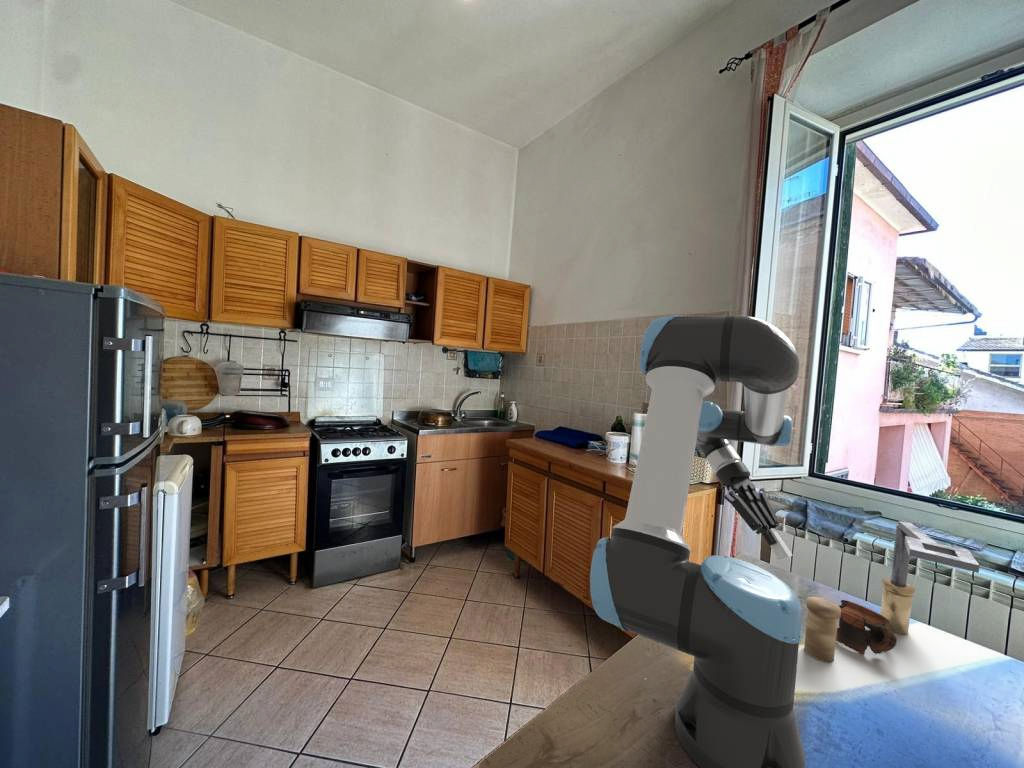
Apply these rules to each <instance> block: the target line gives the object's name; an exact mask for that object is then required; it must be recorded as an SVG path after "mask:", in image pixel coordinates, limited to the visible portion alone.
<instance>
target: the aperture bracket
mask: <svg viewBox="0 0 1024 768" xmlns="http://www.w3.org/2000/svg"><path fill="white" fill-rule="evenodd" d="M895 527H896V528H895V534H894V535H895V536H894V545H893V554H892V564H891V571H890V572H891V575H890V578H888V577H884V578H882V579H881V588H882V594H881V595H882V596H881V604H880V605H881V608H880V613H879V614H880V615H882V616H884V617H885V618H886V619H888V620H889V622H890V623H889V624H888V628H889V629H890V630H892V631H893V632H895V633H894V634H897V635H904V636H905V635H909V628H910V621H911V620H910V619H911V610H912V601H913V597H915V594H916V593H915V592H916V588H915V587H914V586H912V585H911V584H909V583H908V576H909V575H908V574H909V564H910V557H913V558H916V559H921V560H925V561H929V562H932V563H935V564H936V563H937V564H941V565H945V566H948V567H954V568H957V569H961V570H966V571H970V572H974V573H978V574H979V572H980V564H979V562H977V560H976V559H975V557H974V556H973V554H972V553H971V552H970V550H969V549H964V548H960V547H955V546H950V545H946V544H942V543H937V541H935V540H934V539H932V538H931V537H930V536H928V535H927V534H926V533H925V532H923V531H922V530H921V529H920V528H918V527H917V526H916V525H915V524H913V523H912V522H907V521H901V520H898V524H897V525H896V526H895Z"/></svg>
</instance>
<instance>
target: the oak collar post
mask: <svg viewBox="0 0 1024 768" xmlns="http://www.w3.org/2000/svg"><path fill="white" fill-rule="evenodd" d="M839 606H840V605H837V604H836V603H835V602H833V601H831V600H828V599H826V598H822V597H819V596H809V597H807V598H806V606H805V607H806V608H807V615H806V626H805V638H804V647H803V649H804V652H805V653H806V654H807V655H808V656H811V657H812V658H814V659H816V660H818V661H821V662H824V663H832V662H833V661H835V652H836V651H835V650H836V642H837V641H836V634H837V628H838V625H839V618H840V616H841V608H840V607H839Z"/></svg>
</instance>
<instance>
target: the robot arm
mask: <svg viewBox="0 0 1024 768" xmlns="http://www.w3.org/2000/svg"><path fill="white" fill-rule="evenodd" d="M640 345H641V346H640V354H639V368H640V369H639V370H640V372H641V374H642V375H643V376H645V382H646V384H647V385H648V386H649V387H650V389H651V394H650V397H649V398H650V399H649V403H648V408H647V413H646V418H645V421H644V427H643V431H642V437H641V441H640V447H639V451H638V456H637V460H636V465H635V470H634V474H633V480H632V485H631V489H630V494H629V499H628V503H627V509H626V513H625V518H624V519H623V520H622V521H620V522H618V523H617V524H615V525H613V527H612V531H611V535H610V537H609V536H606V537H602V538H600V539H599V540H598V542H597V543H596V548H595V549H594V551H593V555H592V558H591V559H592V560H591V564H590V575H589V582H590V583H589V584H590V585H589V587H590V588H589V590H590V597H591V603H592V606H593V609H594V611H595V613H596V615H597V616H598V617H599V618H600V619H601V620H603V621H604V622H607V623H609V624H612V625H614V626H616V627H618V628H620V630H622V631H625V632H630V633H633V634H635V635H638V636H640V637H643V638H646V639H648V640H651V641H654V642H656V643H658V644H660V645H663V646H666V647H668V648H672V649H673V650H676V651H680V652H682V653H685V654H687V655H688V656H689V655H690V656H691V657H694V660H693V668H692V672H691V673H690V675H689V677H688V679H687V681H686V683H685V685H684V687H683V689H682V690H681V693H680V695H679V697H678V699H677V701H676V705H675V716H674V727H675V732H676V733H675V734H676V736H677V739H678V741H679V743H680V745H681V746H682V748H683V750H684V751H685V753H686V754H687V755H688V757H689V758H690V759H691V760H692V762H693V763H694V764H695V765H696V766H697V767H698V768H806V756H805V752H804V748H803V743H802V740H801V735H800V730H799V729H798V724H797V719H796V716H795V712H794V703H795V695H796V694H795V692H796V682H797V671H798V670H797V669H798V658H799V646H800V645H799V644H800V643H801V641H802V639H803V630H802V605H801V601H800V599H799V598H798V596H797V595H796V593H795V592H794V590H793V589H792V588H791V587H790V586H789V585H788V584H787V583H785V582H784V581H783V580H781V579H780V578H779V577H777V576H776V575H775V574H773V573H772V572H769V571H768V570H766V569H764V568H762V567H760V566H758V565H756V564H753V563H751V562H748V561H745V560H742V559H739V558H737V557H733V556H727V555H725V556H721V555H718V554H717V555H710V556H707V557H705V558H704V559H703V560H702V562H701V564H699V563H694V562H692V561H690V554H691V547H690V546H689V545H688V543H687V542H686V540H685V539H684V537H683V535H682V533H683V527H684V522H685V515H686V508H687V503H688V497H689V490H690V486H691V485H690V484H691V479H692V472H693V466H694V460H695V453H696V446H697V447H698V448H699V450H700V452H701V453H702V455H703V456H704V458H705V460H706V461H707V463H708V464H709V466H710V468H711V470H712V472H714V473H715V477H716V478H717V480H718V482H719V483H720V485H721V486H722V487H723V488H726V490H727V492H726V494H724V495H723V497H724V499H725V500H726V501H727V502H728V503H729V504H731V505H732V506H733V508H734V510H736V512H737V513H738V515H739V516H740V517H741V518H742V520H744V522H745V523H746V524H747V526H748V527H749V528H750V529H751V530H752V531H753V532H755V534H756V535H760V534H761V536H762V537H763V538H764V540H765V541H766V543H767V544H768V545H769V546H770V548H771V549H772V552H773V554H774V555H775V556H776V557H777V559H778V561H784V560H786V559H789V558H791V557H792V556H793V553H792V552H791V550H790V549H789V547H788V546H787V545H786V542H785V541H784V539H783V537H782V536H781V535H780V533H779V531H778V530H777V528H778V527H779V525H780V521H779V519H778V517H777V515H776V513H775V511H774V509H773V506H772V505H771V503H770V501H769V498H768V496H767V493H766V492H767V491H766V490H765V488H764V487H762V488H757V487H756V485H755V483H753V482H752V481H751V479H750V477H751V472H750V471H749V469H748V467H747V466H746V465H745V463H744V462H743V461H742V458H741V457H740V455H739V454H738V452H737V451H736V449H735V448H734V446H733V445H732V444H731V443H730V441H735V442H743V443H748V444H749V443H750V444H756V445H763V446H769V447H785V448H786V447H788V446H789V445H790V443H791V438H792V428H793V419H792V418H791V417H790V416H789V415H785V413H786V407H787V400H788V395H789V389H790V388H791V387H793V386H794V384H795V382H796V381H797V379H798V376H799V372H800V358H799V354H798V352H797V349H796V348H795V346H794V344H793V343H792V341H791V340H790V339H789V338H788V337H787V336H786V335H785V334H784V333H783V332H782V331H781V330H780V329H778V328H777V327H775V326H774V325H772V324H771V323H768V321H765V320H763V319H760V318H757V317H755V316H749V315H739V314H738V315H707V316H706V315H704V316H703V315H701V316H699V315H697V316H696V315H693V316H690V315H689V316H683V315H681V314H676V315H675V314H674V315H672V316H670V315H669V316H660V317H658V318H656V319H653V320H652V322H651V323H650V324H649V325H648V327H647V328H646V330H645V332H644V335H643V338H642V341H641V344H640ZM716 382H725V383H728V382H729V383H730V382H731V383H741V385H743V391H744V392H743V395H744V397H743V398H744V400H743V401H744V411H743V410H732V409H722V408H721V407H719V405H717V404H716V403H714V402H712V401H705V400H704V398H706V397H707V396H708V397H709V395H711V394H712V393H714V390H715V387H716Z"/></svg>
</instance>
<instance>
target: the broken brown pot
mask: <svg viewBox="0 0 1024 768" xmlns="http://www.w3.org/2000/svg"><path fill="white" fill-rule="evenodd" d="M840 602H841V604H840V605H838V606H839V607H840V608H841V616H840V618H839V619H838V627H837V634H836V642H838V643H840V644H843V645H844V646H845V647H847V648H849V649H851V650H853V651H854V652H857V653H859V654H861V655H863V656H864V655H865V654H866V650H867V649H868V648H869V649H870V651H871V652H872V653H874V654H878V655H880V654H882V653H886V652H889V651H891V650H893V649H894V648H895V646H896V645H897V639H898V638H897V635H896V633H894V632H893V631H892V630H890V629H889V628H888V624H889V623H890V622H889V620H888V619H886V618H885V617H884V616H882V615H880V614H881V613H878V612H877V611H874V610H873V609H871V608H868V607H865V606H863V605H860V604H858V603H855V602H853V601H849V600H846V599H841V600H840ZM866 628H867V629H866Z"/></svg>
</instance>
